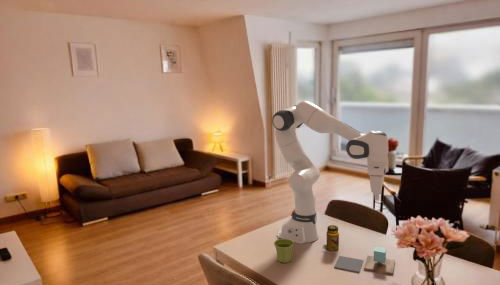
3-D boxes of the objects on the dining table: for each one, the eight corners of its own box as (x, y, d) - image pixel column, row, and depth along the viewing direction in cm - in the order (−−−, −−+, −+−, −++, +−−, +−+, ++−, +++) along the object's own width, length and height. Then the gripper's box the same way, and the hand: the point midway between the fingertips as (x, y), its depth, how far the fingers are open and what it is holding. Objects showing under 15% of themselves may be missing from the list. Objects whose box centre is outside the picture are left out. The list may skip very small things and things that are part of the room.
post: (363, 269, 157) (364, 255, 155) (367, 257, 167) (367, 243, 166) (392, 275, 151) (393, 260, 150) (394, 262, 162) (395, 248, 161)
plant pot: (271, 257, 170) (270, 241, 169) (288, 253, 174) (287, 237, 172) (280, 266, 162) (279, 249, 160) (297, 262, 165) (297, 244, 164)
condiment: (339, 253, 172) (339, 230, 170) (321, 251, 175) (321, 228, 173) (339, 246, 179) (340, 224, 177) (323, 244, 182) (323, 223, 179)
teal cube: (373, 261, 158) (373, 250, 157) (374, 256, 162) (375, 246, 161) (384, 263, 156) (385, 252, 155) (385, 258, 160) (386, 248, 159)
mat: (334, 268, 159) (334, 266, 159) (339, 256, 169) (339, 255, 169) (359, 272, 154) (359, 271, 154) (362, 261, 164) (362, 259, 164)
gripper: (373, 161, 167) (373, 189, 169) (367, 172, 148) (367, 203, 151) (387, 162, 164) (387, 190, 166) (383, 172, 146) (383, 204, 148)
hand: (378, 196), depth 158 cm, fingers open, 8 cm apart
